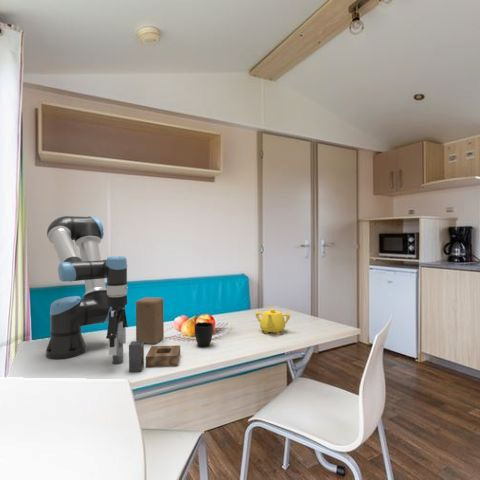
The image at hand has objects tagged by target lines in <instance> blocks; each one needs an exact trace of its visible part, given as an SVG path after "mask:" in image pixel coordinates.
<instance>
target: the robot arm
mask: <svg viewBox="0 0 480 480" xmlns="http://www.w3.org/2000/svg"><path fill="white" fill-rule="evenodd" d="M46 236H47V239H48V241H49V243H51V244H53V247H54V249H55V251H56V254H57V256H58V259H59V262H60V263H59V265H58V266H57V267H58V268H57V269H58V270H57V272H58V274H57V275H58V279H59V280H60V281H61V282H70V283H71V282H79V281H84V286H85V293H84V294H83V296H82V298H81V296H79V295H75V296H67V297H62V298H59V299H56V300H54V301H53V302H51V304H50V310H49V311H50V312H49V315H50V316H49V317H50V338H49V340H48V344H47V346H46V349H45V350H46V351H45V356H46V358H48V359H53V360H61V359H69V358H73V357H76V356H79V355H82V354H84V353H85V352H86V351H87V348H86V347H87V346H86V342H85V340H84V337H83V334H82V327H84V326H90V325H97V324H104V323H107V330H106V337H105V339H107V340H108V356H112V355H117V337H116V333H117V327H118V322H119V321H123V345H125V344H127V337H126V336H127V331H126V329H127V328H128V327H129V324H128V321H127V314H126V306H127V305H128V296H127V294H128V289H129V287H128V270H127V269H128V264H127V263H128V260H127V257H126V256H124V255H123V256H121V255H118V256H117V255H116V256H114V255H113V256H107V258H106V259H101V252H100V247H99V244H100V243H101V242H102V240H103V238H104V225H103V223H102V221H101V219H100V218H98V217H96V216H88V215H87V216H75V215H74V216H73V215H72V216H71V215H65V216H59V217H57V218H56V219H54V220H53V221H51V222H50V224H49V226H48V227H47V230H46ZM76 247H78V248H79V252H78V250H77V248H76ZM79 253H80V254H79ZM105 280H106V281H105Z"/></svg>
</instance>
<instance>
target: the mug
mask: <svg viewBox="0 0 480 480" xmlns="http://www.w3.org/2000/svg"><path fill="white" fill-rule="evenodd" d="M213 331H214V326H213V323H212V322H207V321H204V322H203V321H202V322H200V321H198V322H196V323H195V324H194V336H195V340H196V344H197V347H200V348H207V347H209V346H210V345H211V343H212V339H213V334H214V333H213Z"/></svg>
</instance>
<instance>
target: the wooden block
mask: <svg viewBox="0 0 480 480" xmlns="http://www.w3.org/2000/svg"><path fill="white" fill-rule="evenodd" d="M164 320H165V319H164V298H163V297H153V296H152V297H151V296H150V297H149V296H145V297H143V298H140V299H138V300H136V301H135V330H136V331H135V341H144V344H146V345H148V344H149V345H155V344H158V343H159V342H160V341H161V340H163V338H165V337H164V335H165V334H164V333H165V331H164Z"/></svg>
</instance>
